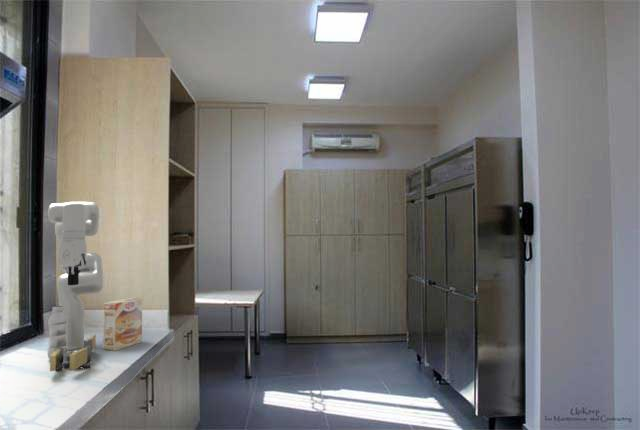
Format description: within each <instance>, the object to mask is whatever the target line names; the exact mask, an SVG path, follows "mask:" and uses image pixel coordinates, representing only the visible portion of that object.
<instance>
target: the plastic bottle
mask: <svg viewBox="0 0 640 430" xmlns="http://www.w3.org/2000/svg"><path fill="white" fill-rule="evenodd" d="M63 308H64V307H63V306H59V305H57V306H53V307H52V308H51V309H52V310H51V311H52V314H51V315H50V316H49V318H48V321H47V324H48V325H47V327H48V331H49V332H48V333H49V341H48V342H49V343H48V348H47V357H48V359H49V360H50V356H51V355H52V353H53V352H54V349H56V348H63V354H65V353H68V352H69V350H67V345H66V326H67V317H66V316H65V314H64V313H63V311H64V310H63Z"/></svg>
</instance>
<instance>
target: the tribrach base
mask: <svg viewBox="0 0 640 430" xmlns="http://www.w3.org/2000/svg"><path fill="white" fill-rule="evenodd" d="M80 349H81V348H80ZM80 349H74V350H71V351H68V352H67V353H65V354H63V363H62V370H67V368H68V369H70V354H72V353H74V352H76V351H78V350H80ZM95 355H96V352H95V351H94V350H93V351H91V359H92V358H95V357H96V356H95ZM64 362H65V363H64ZM80 367H83V365H82V366H80ZM80 367H79V368H80Z"/></svg>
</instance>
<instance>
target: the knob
mask: <svg viewBox="0 0 640 430" xmlns="http://www.w3.org/2000/svg"><path fill="white" fill-rule="evenodd" d="M96 336H97V334H90V335H89V336H88V337H87V338H86V339H84V347H85V346H91V351H94V350H95V349H96V346H97V344H96V340H97V339H96Z"/></svg>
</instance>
